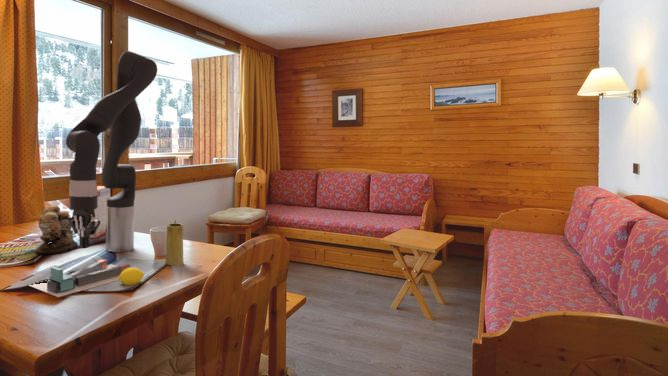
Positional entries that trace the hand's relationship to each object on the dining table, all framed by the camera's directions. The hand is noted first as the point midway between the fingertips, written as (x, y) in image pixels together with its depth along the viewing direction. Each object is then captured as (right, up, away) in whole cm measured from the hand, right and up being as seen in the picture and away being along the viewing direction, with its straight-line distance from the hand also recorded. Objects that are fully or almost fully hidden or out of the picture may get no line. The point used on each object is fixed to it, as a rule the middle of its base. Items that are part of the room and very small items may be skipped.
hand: (84, 247), depth 128 cm
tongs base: (+7, -9, -8) cm, 14 cm away
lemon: (+19, -10, -8) cm, 23 cm away
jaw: (+4, -8, -4) cm, 10 cm away
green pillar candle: (+23, -8, +14) cm, 28 cm away
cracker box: (-24, -2, +47) cm, 53 cm away
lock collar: (+3, -9, -16) cm, 18 cm away
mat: (+5, -9, -7) cm, 12 cm away
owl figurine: (-25, -4, +23) cm, 34 cm away
